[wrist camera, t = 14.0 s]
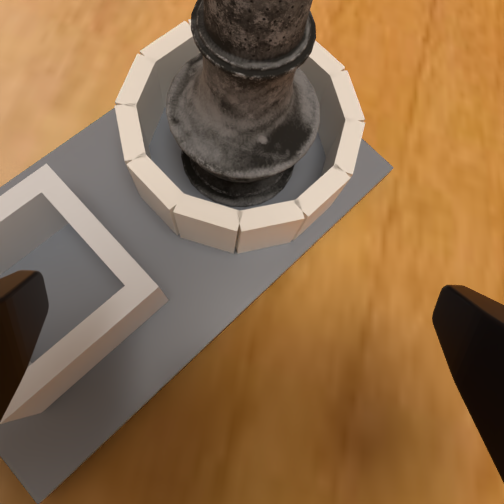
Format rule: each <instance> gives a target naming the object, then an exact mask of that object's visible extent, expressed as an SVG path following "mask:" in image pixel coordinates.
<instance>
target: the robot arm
mask: <svg viewBox="0 0 504 504" xmlns="http://www.w3.org/2000/svg"><path fill="white" fill-rule="evenodd" d="M48 310H49V301H48V296H47V291H46V287H45V282H44V278H43V275H42V273H41V272H39V271H36V270H19V271H16V272H14V273H12V274H9V275H7V276H5V277H2V278H0V422H1V420H2V418H3V416H4V414H5V412H6V410H7V408H8V406H9V404H10V402H11V400H12V398H13V396H14V394H15V392H16V390H17V389H18V387H19V385H20V383H21V381H22V378H23V376H24V374H25V372H26V370H27V367H28V365H29V362H30V360H31V357H32V354H33V352H34V349H35V346H36V343H37V341H38V338H39V335H40V333H41V330H42V327H43V325H44V322H45V319H46V317H47V314H48ZM432 320H433V325H434V328H435V331H436V333H437V336H438V339H439V342H440V344H441V347H442V350H443V353H444V355H445V358H446V361H447V364H448V366H449V369H450V372H451V374H452V377H453V379H454V382H455V384H456V386H457V388H458V390H459V392H460V394H461V397H462V399H463V401H464V403H465V405H466V407H467V409H468V411H469V413H470V415H471V417H472V419H473V421H474V423H475V425H476V427H477V429H478V431H479V433H480V435H481V437H482V439H483V442H484V444H485V446H486V448H487V450H488V452H489V454H490V456H491V458H492V460H493V462H494V464H495V466H496V468H497V470H498V472H499V474H500V476H501V478H502V480H503V482H504V305H502V304H500V303H498V302H496V301H494V300H492V299H490V298H488V297H486V296H484V295H482V294H480V293H478V292H476V291H474V290H472V289H470V288H467V287H465V286H462V285H446V286H444V287H443V288H442V290H441V292H440V295H439V297H438V300H437V303H436V306H435V309H434V311H433V316H432Z"/></svg>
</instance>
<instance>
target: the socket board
mask: <svg viewBox="0 0 504 504" xmlns="http://www.w3.org/2000/svg"><path fill="white" fill-rule="evenodd" d="M199 53H201V52H200V51H199V49H198V48H197V46H196V44H195V43H194V39H193V35H192V32H191V19H189V24H188V23H187V22H186V21H184V22H182V23H181V24H179V25H178V26H176V27H175V28H173V29H172V30H170V31H169V32H167V33H166V34H164V35H163V36H161V37H160V38H158V39H157V40H155V41H154V42H152V43H151V44H149V45H148V46H146V47H145V48H143V49H142V50H140V54H141V55H140V54H137V55H136V58H135V60H134V62H133V64H132V66H131V68H130V71H129V73H128V75H127V77H126V79H125V81H124V84H123V86H122V88H121V90H120V92H119V94H118V97H117V99H116V101H115V103H116V106H115V108H113V109H112V110H111V111H109V112H108V113H106V114H105V115H103V116H102V117H100V118H99V119H98V120H96V121H95V122H93V123H92V124H90V125H89V126H88V127H86V128H85V129H83V130H82V131H80V132H79V133H78V134H76V135H75V136H73V137H72V138H70V139H69V140H68V141H66V142H65V143H63V144H62V145H60V146H59V147H58V148H56V149H55V150H53V151H52V152H50V153H49V154H47V155H46V156H45V157H43V158H42V159H40V160H39V161H37V162H36V163H35V164H33V165H32V166H30V167H29V168H27V169H26V170H25V171H23V172H22V173H20V174H19V175H17V176H16V177H15V178H13V179H12V180H10V181H9V182H7V183H6V184H5V185H3V186H2V187H0V278H2V277H5V276H7V275H9V274H12V273H14V272H16V271H19V270H36V271H39V272H41V273H42V275H43V278H44V282H45V287H46V291H47V296H48V301H49V310H48V314H47V317H46V319H45V322H44V325H43V327H42V330H41V333H40V335H39V338H38V341H37V343H36V346H35V349H34V352H33V354H32V357H31V360H30V362H29V365H28V367H27V370H26V372H25V374H24V376H23V378H22V381H21V383H20V385H19V387H18V389H17V390H16V392H15V394H14V396H13V398H12V400H11V402H10V404H9V406H8V408H7V410H6V412H5V414H4V416H3V418H2V420H1V422H0V456H1V458H2V459H3V460H4V462H5V463H6V464H7V466H8V467H9V468H10V469H11V471H12V472H13V473H14V475H15V476H16V477H17V478H18V480H19V481H20V482H21V484H22V485H23V486H24V488H25V489H26V490H27V491H28V493H29V494H30V495H31V497H32V498H33V499H34V501H35V502H36V503H37V504H39V503H41V502H42V501H43V500H45V499H46V498H47V497H48V496H49V495H50V494H51V493H52V492H53V491H54V490H56V489H57V488H58V487H59V486H60V485H61V484H62V483H63V482H64V481H65V480H66V479H67V478H68V477H69V476H70V475H71V474H72V473H73V472H75V471H76V470H77V469H78V468H79V467H80V466H81V465H82V464H83V463H84V462H85V461H86V460H87V459H88V458H89V457H90V456H91V455H92V454H94V453H95V452H96V451H97V450H98V449H99V448H100V447H101V446H102V445H103V444H104V443H105V442H106V441H107V440H108V439H109V438H110V437H111V436H112V435H114V434H115V433H116V432H117V431H118V430H119V429H120V428H121V427H122V426H123V425H124V424H125V423H126V422H127V421H128V420H129V419H130V418H131V417H133V416H134V415H135V414H136V413H137V412H138V411H139V410H140V409H141V408H142V407H143V406H144V405H145V404H146V403H147V402H148V401H149V400H150V399H152V398H153V397H154V396H155V395H156V394H157V393H158V392H159V391H160V390H161V389H162V388H163V387H164V386H165V385H166V384H167V383H168V382H169V381H171V380H172V379H173V378H174V377H175V376H176V375H177V374H178V373H179V372H180V371H181V370H182V369H183V368H184V367H185V366H186V365H187V364H188V363H189V362H191V361H192V360H193V359H194V358H195V357H196V356H197V355H198V354H199V353H200V352H201V351H202V350H203V349H204V348H205V347H206V346H207V345H208V344H210V343H211V342H212V341H213V340H214V339H215V338H216V337H217V336H218V335H219V334H220V333H221V332H222V331H223V330H224V329H225V328H226V327H227V326H229V325H230V324H231V323H232V322H233V321H234V320H235V319H236V318H237V317H238V316H239V315H240V314H241V313H242V312H243V311H244V310H245V309H246V308H248V307H249V306H250V305H251V304H252V303H253V302H254V301H255V300H256V299H257V298H258V297H259V296H260V295H261V294H262V293H263V292H264V291H265V290H266V289H268V288H269V287H270V286H271V285H272V284H273V283H274V282H275V281H276V280H277V279H278V278H279V277H280V276H281V275H282V274H283V273H284V272H285V271H287V270H288V269H289V268H290V267H291V266H292V265H293V264H294V263H295V262H296V261H297V260H298V259H299V258H300V257H301V256H302V255H303V254H304V253H306V252H307V251H308V250H309V249H310V248H311V247H312V246H313V245H314V244H315V243H316V242H317V241H318V240H319V239H320V238H321V237H322V236H323V235H325V234H326V233H327V232H328V231H329V230H330V229H331V228H332V227H333V226H334V225H335V224H336V223H337V222H338V221H339V220H340V219H341V218H342V217H344V216H345V215H346V214H347V213H348V212H349V211H350V210H351V209H352V208H353V207H354V206H355V205H356V204H357V203H358V202H359V201H360V200H361V199H362V198H364V197H365V196H366V195H367V194H368V193H369V192H370V191H371V190H372V189H373V188H374V187H375V186H376V185H377V184H378V183H379V182H380V181H381V180H383V179H384V178H385V177H386V176H387V175H388V174H389V172H390V171H391V170H392V169H393V167H392V166H391V165H390V164H389V163H388V162H387V161H386V160H385V159H384V158H383V157H381V156H380V155H379V154H378V153H377V152H376V151H375V150H374V149H373V148H372V147H371V146H370V145H368V144H367V143H366V142H365V141H364V140H363V139H362V134H363V130H364V126H365V123H364V120H365V118H364V115H363V112H362V110H361V107H360V104H359V101H358V98H357V96H356V93H355V90H354V87H353V85H352V82H351V79H350V76H349V73H348V71H347V70H345V71H344V69H345V66H343V65H342V64H341V63H340V62H339V61H338V60H337V59H336V58H334V57H333V56H332V55H331V54H330V53H329V52H328V51H327V50H326V49H324V48H323V47H322V46H321V45H320V44H319V43H318V42H317V41H315V42H314V46H313V49H312V52H311V54H310V55H309V57H308V58H307V60H306V61H305V62H304V64H302V65H301V66H300V67H298V68H299V69H301V70H302V71H303V72H304V73H305V75H306V76H307V78H308V80H309V81H310V83H311V84H312V86H313V87H314V89H315V92H316V95H317V98H318V101H319V107H320V123H319V127H318V131H317V135H316V138H315V140H314V142H313V143H312V145H311V147H310V148H309V150H308V151H307V153H306V155H305V156H303V157H302V158H301V159H300V160H299V161H298V162H297V163H295V165H294V169H293V172H292V176H291V178H290V179H289V181H288V182H287V184H286V186H285V187H284V189H283V190H281V191H280V192H279V193H278V194H277V195H276V196H275V197H274V198H272V199H270V200H268V201H266V202H264V203H262V204H259V205H254V206H249V207H230V206H226V205H223V204H220V203H216V202H214V201H212V200H211V199H209V198H207V197H206V196H204V195H202V194H201V193H200V192H199V191H198V190H197V189H196V188H195V187H194V186H193V185H192V184H191V182H190V180H189V178H188V177H187V175H186V173H185V171H184V167H183V163H182V158H181V151H182V149H181V148H180V147H179V145H178V144H177V142H176V140H175V138H174V136H173V135H172V133H171V131H170V127H169V123H168V119H167V114H166V104H167V93H168V91H169V88H170V86H171V83H172V81H173V78H174V77H175V75H176V74H177V73H178V72H179V70H180V69H181V68H182V67H183V66H184V64H185V63H186V62H188V61H189V60H191V59H192V58H194V57H195V56H196V55H198V54H199Z"/></svg>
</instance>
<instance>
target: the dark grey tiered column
mask: <svg viewBox="0 0 504 504" xmlns="http://www.w3.org/2000/svg"><path fill="white" fill-rule="evenodd" d="M311 4H312V0H198V1H197V2H196V4H195V7H194V9H193V11H192V14H191V32H192V35H193V39H194V43H195V44H196V46H197V48H198V49H199V51H200V52H201V53H199V54H198V55H196V56H195V57H194V58H192V59H191V60H189V61H188V62H186V63H185V64H184V66H183V67H182V68H181V69H180V70H179V72H178V73H177V74H176V75H175V77H174V78H173V81H172V83H171V86H170V88H169V91H168V93H167V104H166V114H167V119H168V123H169V127H170V131H171V133H172V135H173V136H174V138H175V140H176V142H177V144H178V145H179V147H180V148H181V149H182V151H181V158H182V163H183V167H184V171H185V173H186V175H187V177H188V178H189V180H190V182H191V184H192V185H193V186H194V187H195V188H196V189H197V190H198V191H199V192H200V193H201V194H202V195H204V196H206V197H207V198H209V199H211V200H212V201H214V202H216V203H220V204H223V205H226V206H230V207H249V206H254V205H259V204H262V203H264V202H266V201H268V200H270V199H272V198H274V197H275V196H276V195H277V194H278V193H279V192H280V191H281V190H283V189H284V187H285V186H286V184H287V182H288V181H289V179H290V178H291V176H292V172H293V169H294V165H295V163H297V162H298V161H299V160H300V159H301V158H302V157H303V156H305V155H306V153H307V151H308V150H309V148H310V147H311V145H312V143H313V142H314V140H315V138H316V135H317V131H318V127H319V123H320V107H319V101H318V98H317V95H316V92H315V89H314V87H313V86H312V84H311V83H310V81H309V80H308V78H307V76H306V75H305V73H304V72H303V71H302V70H301V69H299V68H298V67H300V66H301V65H302V64H304V62H305V61H306V60H307V58H308V57H309V55H310V54H311V52H312V49H313V46H314V42H315V39H316V27H315V22H314V19H313V17H312V14H311V12H310V8H311Z"/></svg>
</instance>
